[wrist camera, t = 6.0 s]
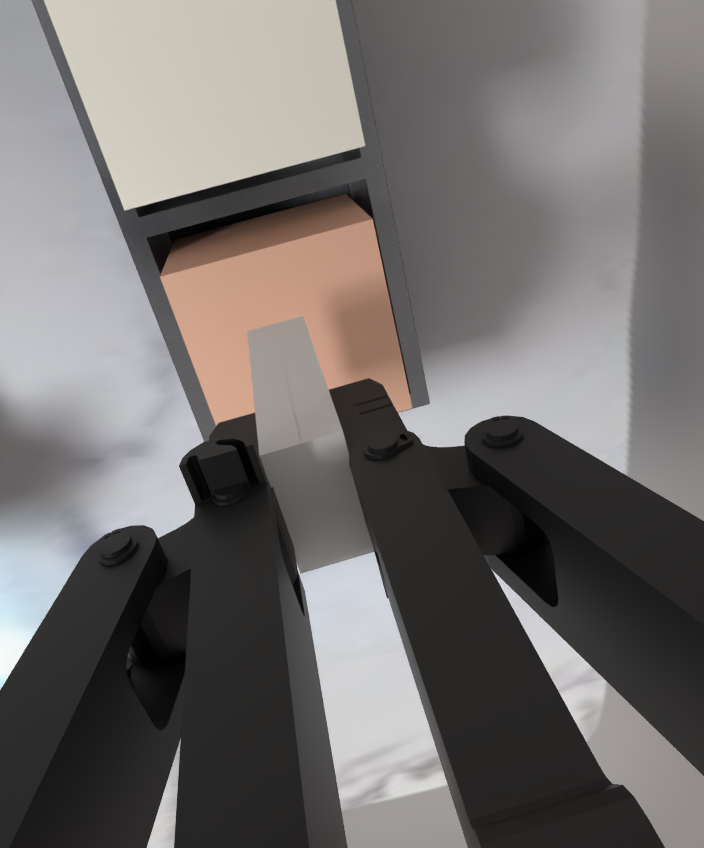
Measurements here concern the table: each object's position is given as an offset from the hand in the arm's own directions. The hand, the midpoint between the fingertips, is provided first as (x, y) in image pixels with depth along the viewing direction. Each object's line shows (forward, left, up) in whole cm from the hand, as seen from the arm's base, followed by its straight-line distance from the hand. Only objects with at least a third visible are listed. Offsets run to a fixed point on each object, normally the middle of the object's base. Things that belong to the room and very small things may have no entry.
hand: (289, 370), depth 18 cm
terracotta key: (0, 0, -7) cm, 7 cm away
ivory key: (0, +8, -6) cm, 10 cm away
